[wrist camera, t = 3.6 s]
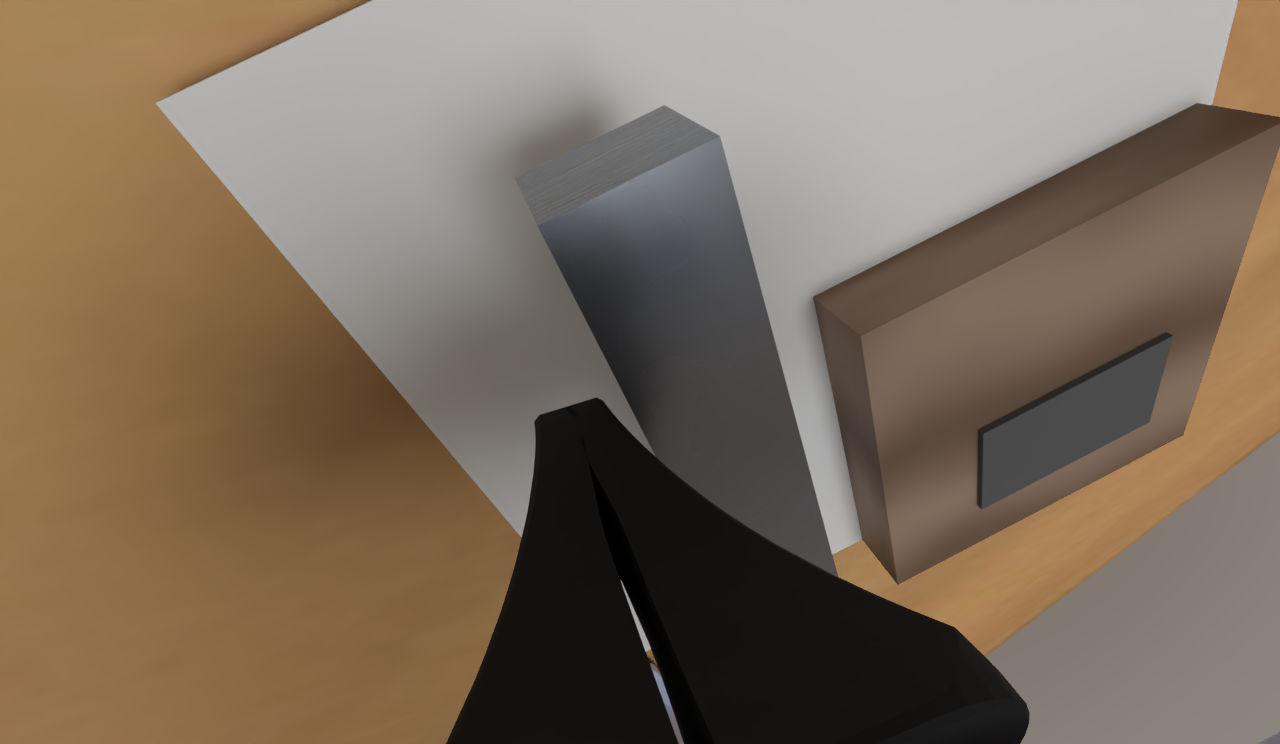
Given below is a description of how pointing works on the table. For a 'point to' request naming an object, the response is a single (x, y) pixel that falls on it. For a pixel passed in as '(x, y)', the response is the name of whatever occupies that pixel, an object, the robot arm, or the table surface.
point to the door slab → (1037, 323)
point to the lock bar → (682, 316)
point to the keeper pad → (1069, 422)
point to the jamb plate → (619, 93)
